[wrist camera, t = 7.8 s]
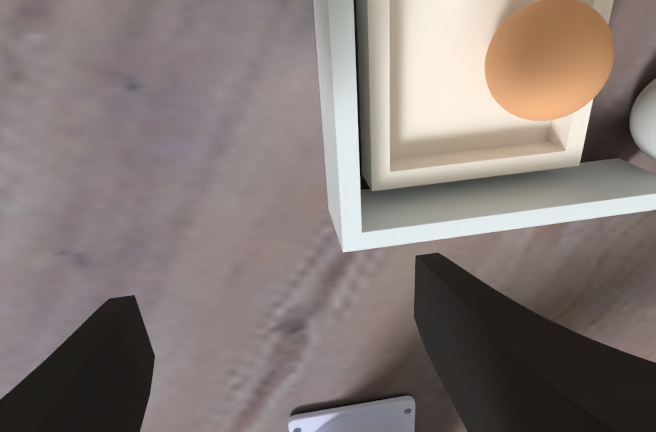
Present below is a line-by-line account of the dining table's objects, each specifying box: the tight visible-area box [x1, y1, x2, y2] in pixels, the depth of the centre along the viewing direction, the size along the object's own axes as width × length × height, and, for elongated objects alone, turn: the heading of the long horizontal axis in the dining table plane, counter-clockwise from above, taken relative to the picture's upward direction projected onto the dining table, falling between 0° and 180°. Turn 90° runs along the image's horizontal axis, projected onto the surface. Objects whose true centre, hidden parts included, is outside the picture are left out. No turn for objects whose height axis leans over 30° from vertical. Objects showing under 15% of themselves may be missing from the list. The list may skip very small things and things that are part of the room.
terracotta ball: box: [485, 0, 614, 121], centre depth 17 cm, size 4×4×4 cm
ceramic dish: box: [356, 0, 614, 191], centre depth 19 cm, size 10×10×2 cm
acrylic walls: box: [313, 0, 656, 252], centre depth 18 cm, size 11×15×4 cm
